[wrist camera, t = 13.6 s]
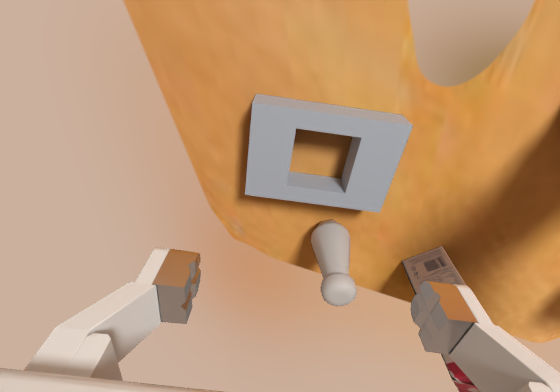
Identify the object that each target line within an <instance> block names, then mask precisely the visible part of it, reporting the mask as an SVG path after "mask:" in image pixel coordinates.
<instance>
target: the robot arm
mask: <svg viewBox="0 0 560 392" xmlns="http://www.w3.org/2000/svg"><path fill="white" fill-rule="evenodd" d="M199 263H200V254H199V253H195V252H188V251H182V250H175V249H166V248H159V247H157V248H156V249H154V250H153V252H152V253H151V255H150V257H149V258H148V260H147V262H146V264H145V265H144V267H143V269H142V270H141V272H140V274H139V276H138V277H137V279H136V281H135V282H129V283H128V284H126V285H124V286H123V287H121V288H119V289H118V290H116V291H114V292H113V293H111V294H110V295H108V296H106V297H105V298H103V299H101V300H100V301H98V302H96V303H95V304H93V305H92V306H90V307H88V308H87V309H85V310H83V311H82V312H80V313H79V314H77V315H75V316H74V317H72V318H70V319H69V320H67V321H65V322H64V323H62V324H60V325H59V326H57V327H56V328H55V329H54V331H53V332H52V333H51V335H50V336H49V337H48V339H47V340H46V341H45V343H44V344H43V345H42V347H41V348H40V349H39V351H38V352H37V353H36V354H35V356H34V357H33V359H32V360H31V361H30V363H29V364H28V365H27V367H26V368H25V369H24V370H14V369H5V368H0V392H221V391H212V390H203V389H192V388H183V387H173V386H165V385H155V384H145V383H136V382H126V381H123V380H122V376H121V373H120V369H119V366H118V362H119V361H121V360H122V359H123V358H124V357H125V356H126V355H127V354H128V353H129V352H130V351H131V350H132V349H134V348H135V347H136V346H137V345H138V344H139V343H140V342H141V341H142V340H143V339H144V338H146V337H147V335H149V334H150V333H151V332H152V331H153V330H154V329H155V328H156V327H157V326H158V325H160V323H161V322H170V323H182V324H186V323H187V321H188V318H189V315H190V312H191V309H192V299H193V298H194V297H195V296H196V294H197V291H198V287H199V283H200V274H201V272H200V271H201V270H200V269H199V268H198V266H199ZM419 289H420V291H421V293H419V294H417V295H415V296H414V298H413V300H412V302H411V315H412V318H413V321H414V322H415V323H416V324H417V325H418V326H419V327H420V331H419V336H420V338H421V341H422V343H423V346H424V349H425V351H427V352H435V353H441V354H448V355H449V356H450V358H451V359H452V360H453V361H454V362H455V363H456V364H457V366H458V367H459V368H460V369H461V370H462V371H463V372H464V373H465V375H466V376H467V377H468V378H469V379H470V380H471V381H472V382H473V384H474V385H475V386H476V387H477V388H478V389H479V390H480V392H560V373H559V372H557V371H556V370H555V369H554V368H552V367H551V366H550V365H548V364H547V363H546V362H544V361H543V360H542V359H541V358H539V357H538V356H537V355H535V354H534V353H533V352H531V351H530V350H529V349H528V348H526V347H525V346H523V345H522V344H521V343H520V342H519V341H517V340H516V339H515V338H513V337H512V336H511V335H509V334H508V333H507V332H506V331H504V330H503V329H502V328H500V327H499V326H496V325H494V324H493V323H492V321H491V320H490V318H489V317H488V315H487V314H486V312H485V310H484V309H483V307H482V306H481V304H480V303H479V301H478V300H477V298H476V296H475V295H474V293H473V292H472V290H471V289H470V288H469V287H468V286H466V285H457V284H448V283H439V282H430V281H424V282H423V283H422V284H421V285H420V287H419Z"/></svg>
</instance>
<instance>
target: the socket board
mask: <svg viewBox="0 0 560 392" xmlns="http://www.w3.org/2000/svg"><path fill="white" fill-rule="evenodd" d="M412 127H413V125H412V124H411V123H410V122H409V121H408V120H407V119H406V118H405V117H404V116H403V115H400V114H393V113H386V112H379V111H372V110H365V109H359V108H352V107H345V106H338V105H331V104H324V103H317V102H310V101H303V100H296V99H290V98H283V97H276V96H269V95H262V94H256V95H255V98H254V100H253V102H252V113H251V125H250V138H249V150H248V162H247V174H246V187H245V195H250V196H258V197H266V198H273V199H281V200H288V201H296V202H304V203H311V204H319V205H326V206H334V207H341V208H349V209H357V210H364V211H372V212H379V213H380V210H381V208H382V205H383V203H384V200H385V197H386V195H387V192H388V190H389V187H390V184H391V182H392V179H393V176H394V174H395V171H396V169H397V166H398V163H399V161H400V158H401V156H402V153H403V150H404V148H405V145H406V143H407V140H408V137H409V135H410V132H411V130H412ZM296 129H304V130H311V131H318V132H325V133H332V134H339V135H346V136H353V137H352V141H351V144H350V148H349V152H348V155H347V159H346V162H345V166H344V170H343V173H342V177H341V178H334V177H327V176H319V175H312V174H305V173H297V172H290V171H289V169H290V163H291V157H292V151H293V145H294V139H295V133H296Z"/></svg>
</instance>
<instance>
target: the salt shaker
mask: <svg viewBox="0 0 560 392" xmlns="http://www.w3.org/2000/svg"><path fill="white" fill-rule="evenodd" d="M311 244H312V246H313V249H314V252H315V255H316V258H317V261H318V264H319V267H320V270H321V273H322V276H323V278H324V279H323V281H322V284H321V293H322V296H323V299H324V300H325V301H326V302H327V303H329V304H331V305H335V306H344V305H347V304H349V303H350V302H352V301H353V300H354V299H355V296H356V294H357V291H356V290H357V289H356V286H355V282H354V280H353V278H351V277H350V276H349V258H350V236H349V232H348V230H347V229H346V228H345V227H343V226H342V225H341V224H340V223H338V222H336V221H334V220H332V219H330V220H326V221H321V222H320V223H319V225H318V226H317V228H316V229H315V230H314V231H313V233H312V237H311Z"/></svg>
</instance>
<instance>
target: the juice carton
mask: <svg viewBox="0 0 560 392" xmlns="http://www.w3.org/2000/svg"><path fill="white" fill-rule="evenodd" d="M402 264H403V266H404V269H405V271H406V273H407V276H408V278H409V280H410V283H411V285H412V287H413V290H414V292H415V294H416V295H417V294H419V293H421V291H420V289H419V287H420V285H421V284H422V283H423V282H424V281H430V282H439V283H448V284H457V285H466V284H465V282H464V281H463V279H462V277H461V276H460V274H459V273H458V271H457V269H456V268H455V266H454V265H453V263H452V261H451V260H450V258H449V257H448V255H447V253H446V252H445V250H444V249H443V247H442V246H440V247H437V248H435V249H432V250H429V251H427V252H424V253H421V254H419V255H416V256H413V257H411V258H408V259H405V260H403V261H402ZM466 286H467V285H466ZM441 355H442V357H443V359H444V362H445V364H446V367H447V369H448V371H449V374H450V376H451V378H452V380H453V381H454V383H455V385H456V387H457V388H458V390H459V392H480V390H479V389H478V388H477V387H476V386H475V385H474V384H473V382H472V381H471V380H470V379H469V378H468V377H467V376H466V375H465V373H464V372H463V371H462V370H461V369H460V368H459V367H458V366H457V364H456V363H455V362H454V361H453V360H452V359H451V358H450V356H449V355H448V354H441Z"/></svg>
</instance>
